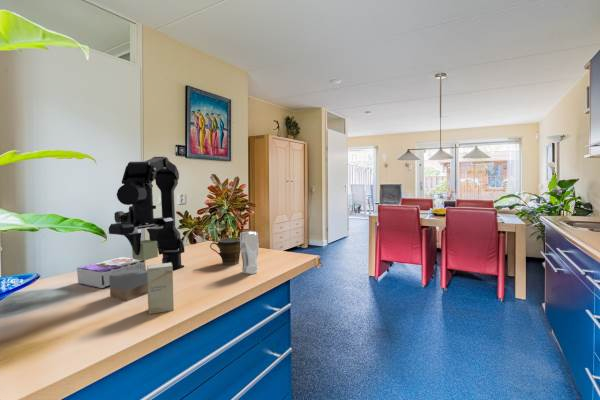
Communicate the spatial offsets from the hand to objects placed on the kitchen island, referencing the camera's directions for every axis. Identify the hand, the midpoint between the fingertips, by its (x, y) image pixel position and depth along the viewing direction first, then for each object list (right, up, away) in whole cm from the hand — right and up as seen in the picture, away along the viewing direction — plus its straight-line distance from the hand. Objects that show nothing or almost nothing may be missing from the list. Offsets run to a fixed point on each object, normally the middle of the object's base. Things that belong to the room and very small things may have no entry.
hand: (145, 252), depth 96 cm
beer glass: (+29, -11, +21) cm, 38 cm away
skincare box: (+11, -13, -12) cm, 21 cm away
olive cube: (0, -2, 0) cm, 2 cm away
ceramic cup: (+18, -10, +33) cm, 39 cm away
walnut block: (-4, -13, -1) cm, 14 cm away
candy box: (-22, -10, +7) cm, 25 cm away
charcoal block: (-4, -10, -1) cm, 10 cm away
